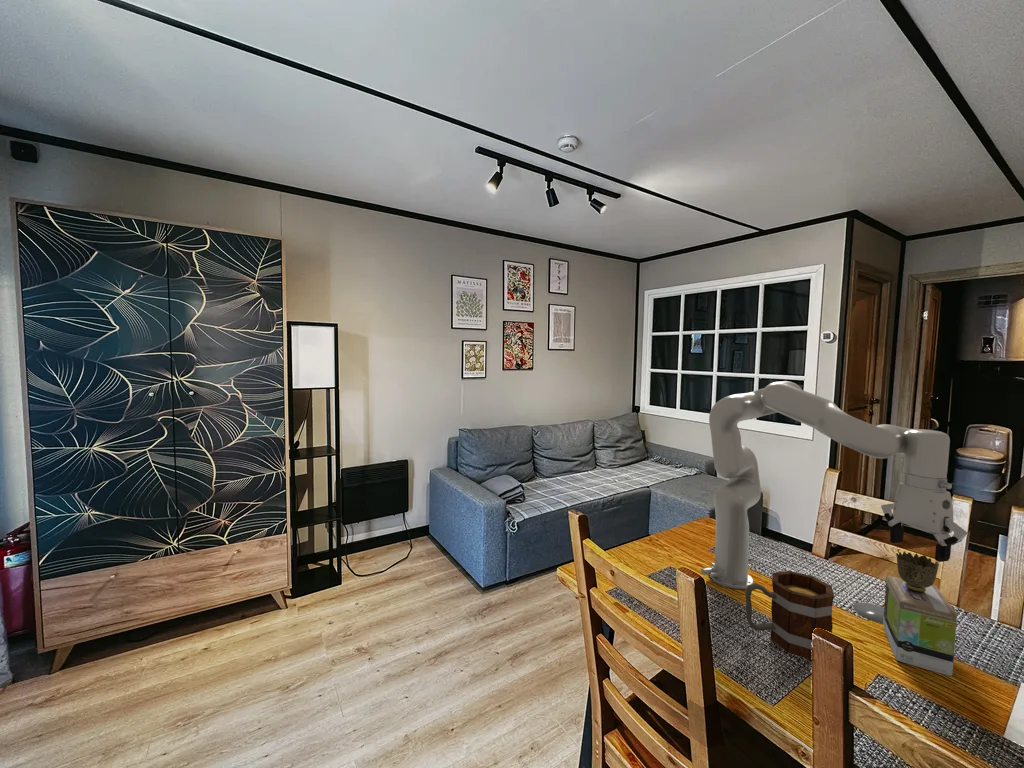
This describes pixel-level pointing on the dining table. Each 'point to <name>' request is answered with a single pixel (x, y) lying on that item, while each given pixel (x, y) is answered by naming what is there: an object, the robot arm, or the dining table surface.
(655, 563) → the dining table surface
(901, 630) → the tea box
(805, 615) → the mug
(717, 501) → the robot arm
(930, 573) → the cup
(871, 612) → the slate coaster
